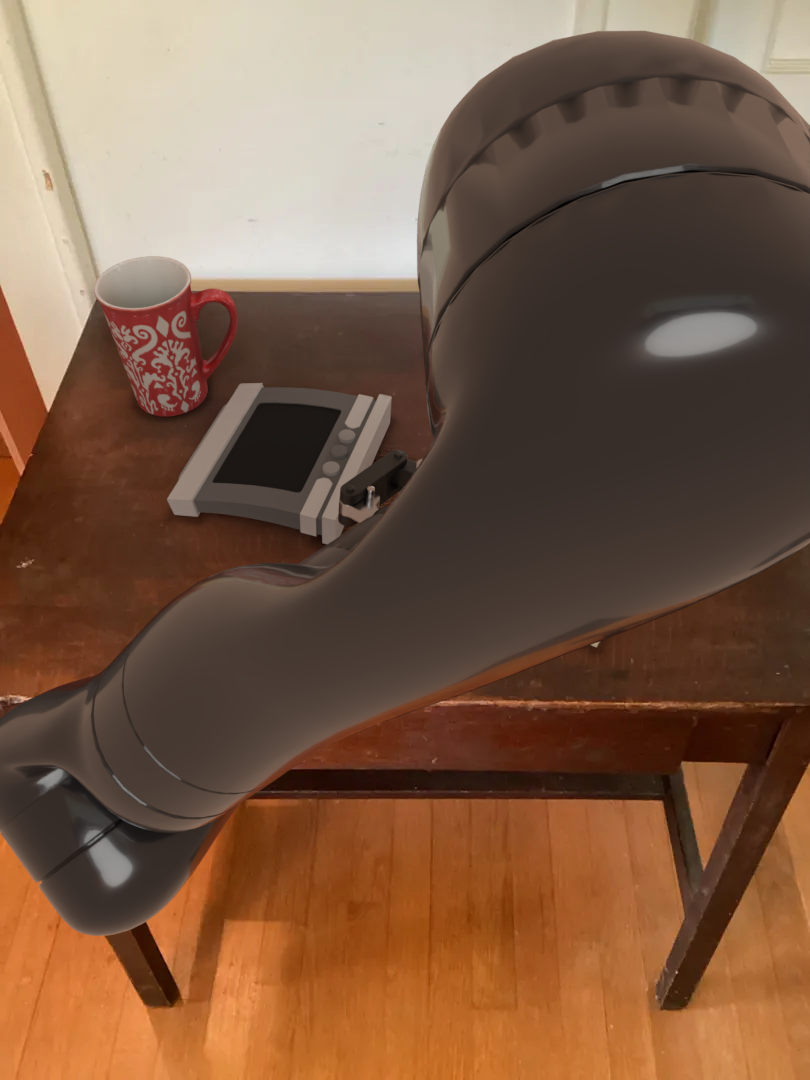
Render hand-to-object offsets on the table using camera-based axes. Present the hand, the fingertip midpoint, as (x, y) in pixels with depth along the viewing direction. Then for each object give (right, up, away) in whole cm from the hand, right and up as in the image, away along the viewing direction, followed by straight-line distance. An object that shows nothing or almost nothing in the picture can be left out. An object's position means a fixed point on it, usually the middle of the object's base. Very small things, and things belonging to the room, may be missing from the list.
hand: (524, 484), depth 60 cm
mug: (-30, +11, +37) cm, 49 cm away
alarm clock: (-19, +3, +30) cm, 35 cm away
